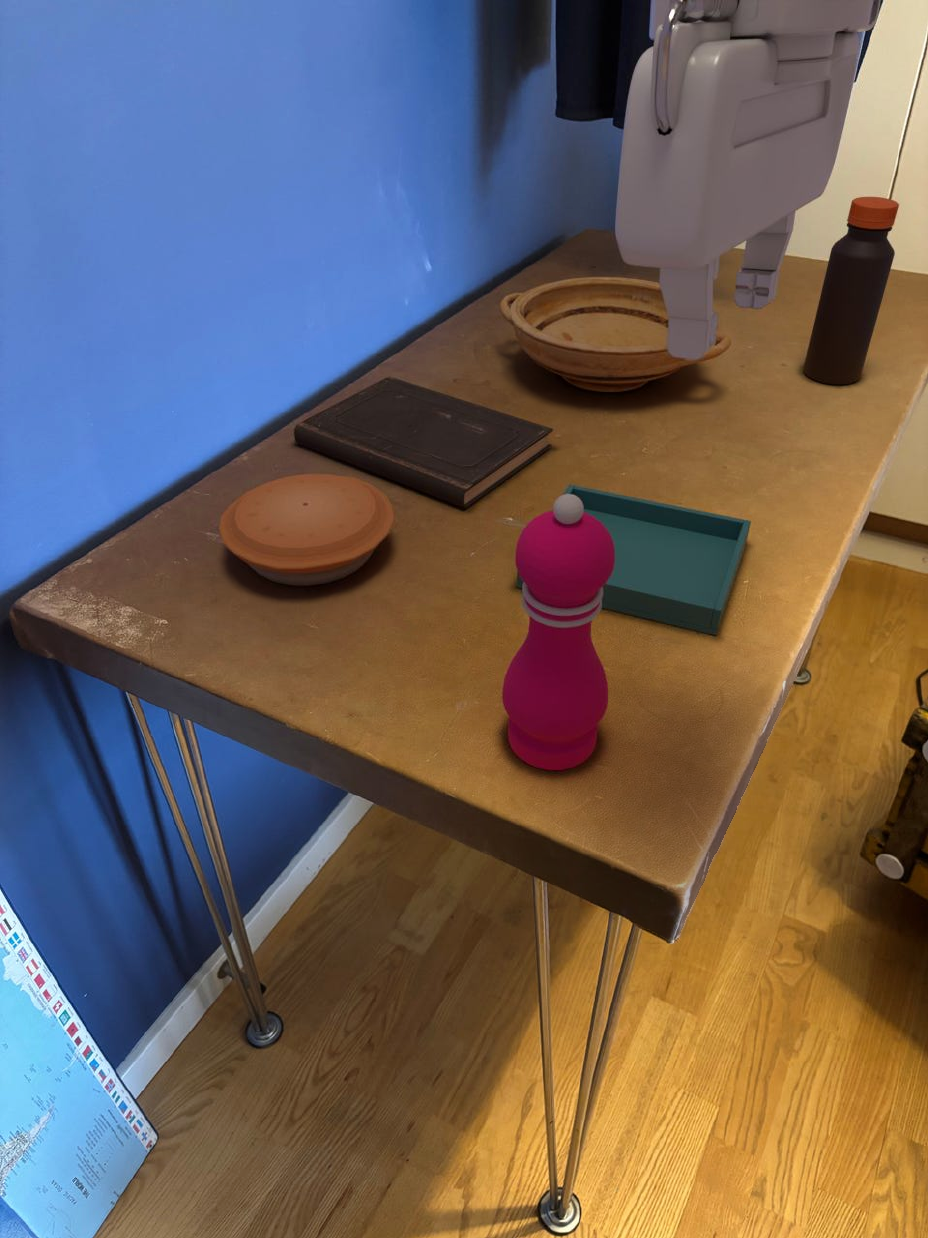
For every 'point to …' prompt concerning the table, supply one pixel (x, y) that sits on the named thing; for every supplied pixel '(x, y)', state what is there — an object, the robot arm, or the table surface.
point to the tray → (667, 559)
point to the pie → (307, 527)
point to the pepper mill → (559, 638)
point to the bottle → (852, 293)
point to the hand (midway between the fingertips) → (724, 328)
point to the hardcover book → (425, 439)
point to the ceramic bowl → (598, 331)
